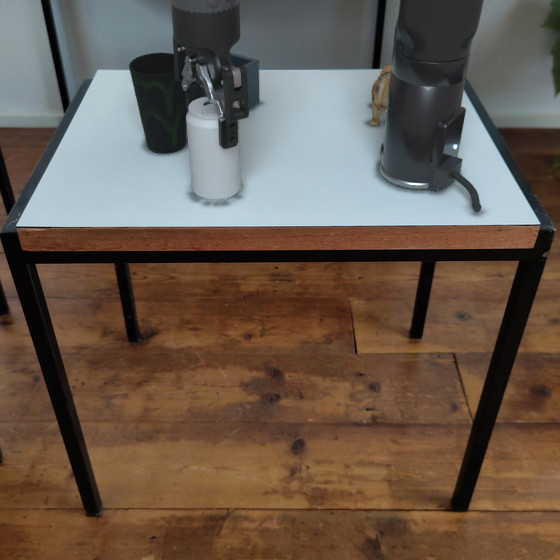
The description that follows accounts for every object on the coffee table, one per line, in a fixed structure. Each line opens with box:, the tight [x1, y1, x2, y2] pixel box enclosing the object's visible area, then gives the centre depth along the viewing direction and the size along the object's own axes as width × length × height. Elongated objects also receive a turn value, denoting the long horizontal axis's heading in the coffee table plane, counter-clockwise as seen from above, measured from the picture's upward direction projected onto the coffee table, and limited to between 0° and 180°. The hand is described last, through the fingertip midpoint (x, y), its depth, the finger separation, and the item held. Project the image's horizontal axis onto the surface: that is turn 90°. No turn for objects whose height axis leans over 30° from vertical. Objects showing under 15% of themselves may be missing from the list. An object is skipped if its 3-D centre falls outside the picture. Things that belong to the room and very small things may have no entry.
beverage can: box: [186, 97, 242, 202], centre depth 91 cm, size 6×6×12 cm
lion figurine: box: [369, 63, 392, 126], centre depth 109 cm, size 15×5×9 cm, turn 176°
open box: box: [186, 51, 261, 115], centre depth 111 cm, size 11×11×7 cm
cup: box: [128, 52, 187, 155], centre depth 100 cm, size 8×8×12 cm
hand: (212, 132), depth 89 cm, fingers open, 8 cm apart
